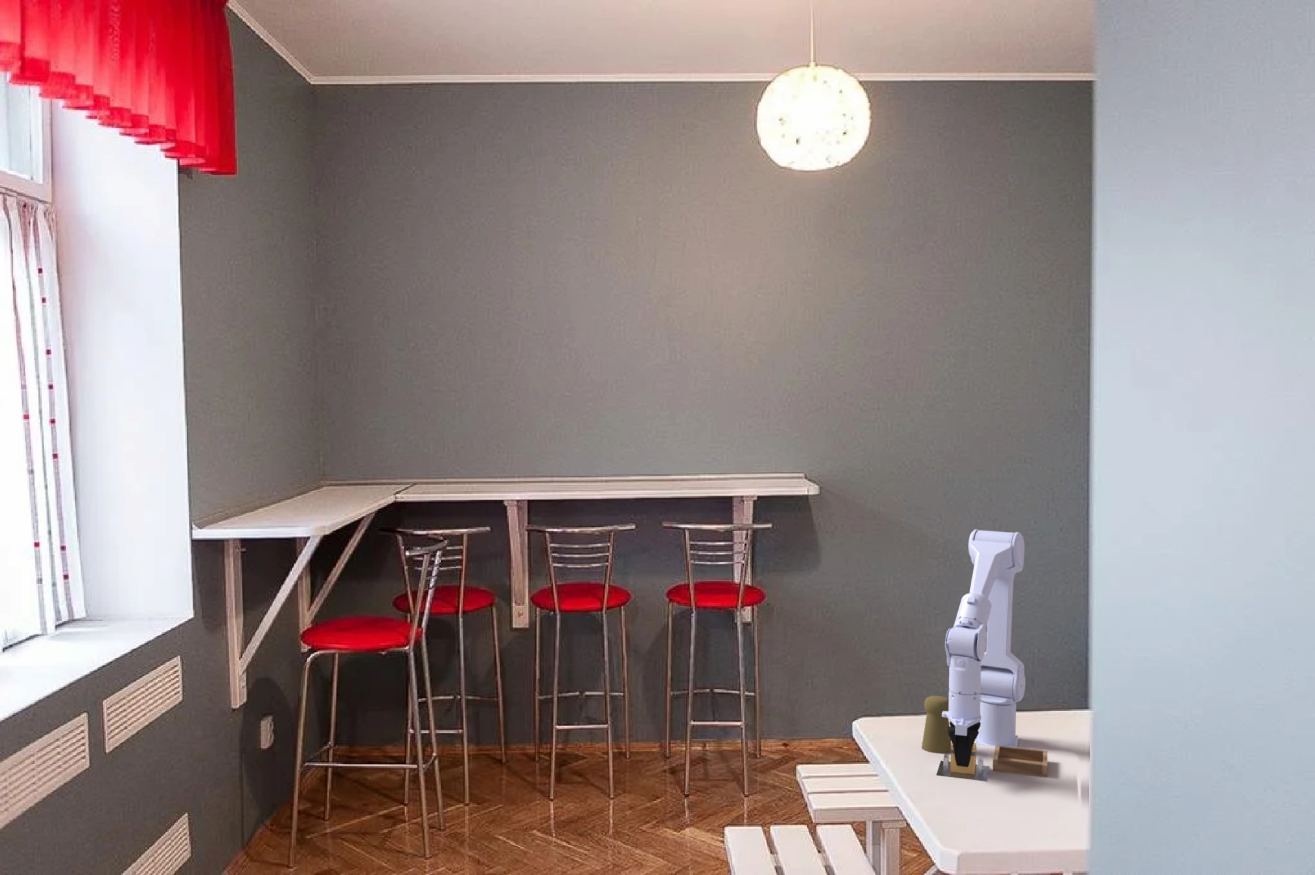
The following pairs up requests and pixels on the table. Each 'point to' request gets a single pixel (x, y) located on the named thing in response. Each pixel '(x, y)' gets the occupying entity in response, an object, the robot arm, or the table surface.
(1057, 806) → the table surface
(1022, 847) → the table surface
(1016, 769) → the tray
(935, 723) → the cork
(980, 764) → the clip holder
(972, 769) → the block
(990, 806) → the table surface
